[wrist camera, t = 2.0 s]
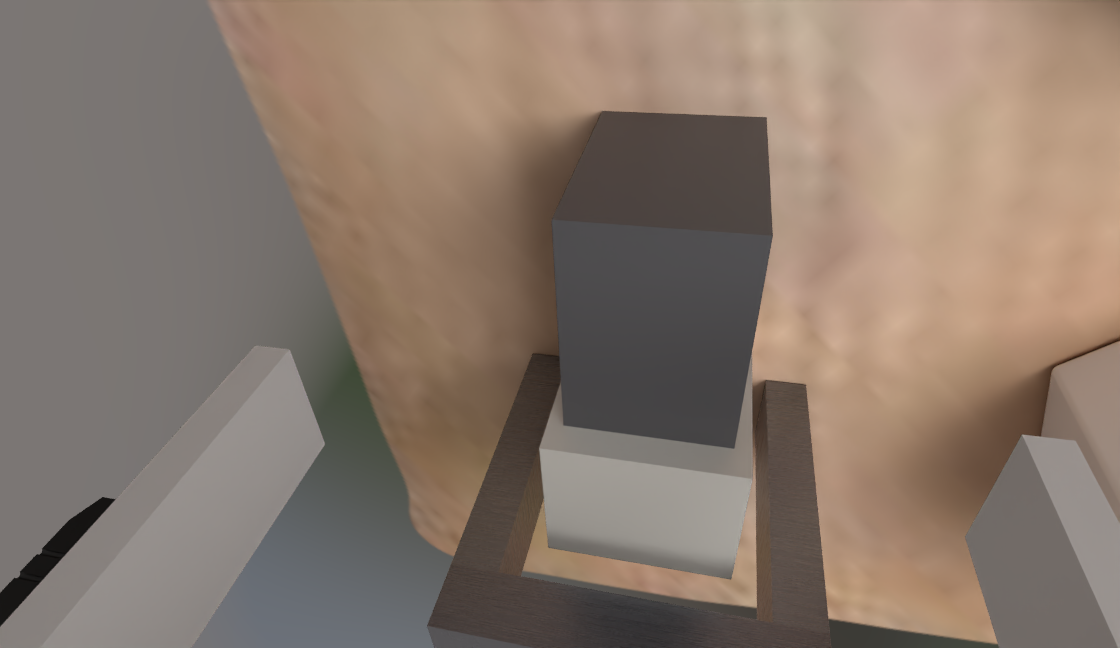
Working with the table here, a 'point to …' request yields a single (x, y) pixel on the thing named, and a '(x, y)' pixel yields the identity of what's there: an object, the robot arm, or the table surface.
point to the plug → (658, 340)
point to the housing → (617, 620)
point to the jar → (1090, 414)
